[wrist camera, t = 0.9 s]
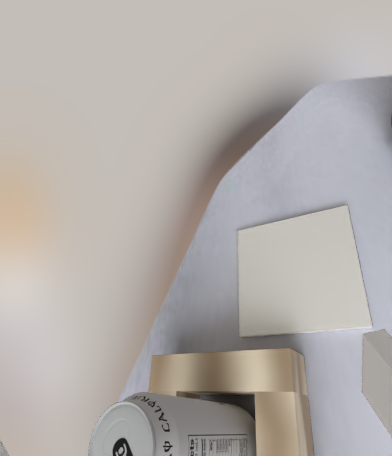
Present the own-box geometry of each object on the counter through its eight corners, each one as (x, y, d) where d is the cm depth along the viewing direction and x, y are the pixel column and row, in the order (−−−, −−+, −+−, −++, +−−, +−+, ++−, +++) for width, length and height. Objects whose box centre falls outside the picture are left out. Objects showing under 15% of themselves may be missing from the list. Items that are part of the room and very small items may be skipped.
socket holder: (303, 356, 30) (289, 348, 27) (326, 569, 24) (310, 588, 21) (174, 361, 37) (152, 355, 34) (162, 529, 30) (133, 539, 27)
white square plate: (348, 207, 34) (347, 204, 34) (373, 328, 29) (371, 326, 28) (239, 232, 40) (237, 230, 40) (241, 337, 34) (239, 336, 34)
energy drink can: (237, 389, 32) (134, 368, 21) (280, 452, 28) (180, 465, 17) (193, 433, 32) (69, 434, 21) (229, 501, 28) (100, 546, 17)
